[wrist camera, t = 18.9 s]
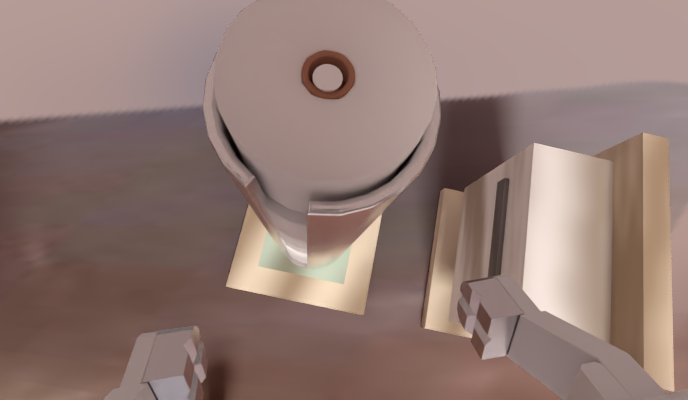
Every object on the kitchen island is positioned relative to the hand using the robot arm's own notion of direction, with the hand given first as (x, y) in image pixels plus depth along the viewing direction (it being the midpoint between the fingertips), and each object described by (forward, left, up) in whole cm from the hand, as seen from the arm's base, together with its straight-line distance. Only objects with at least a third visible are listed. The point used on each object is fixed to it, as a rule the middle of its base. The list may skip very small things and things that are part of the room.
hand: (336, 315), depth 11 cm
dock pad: (-2, +6, -22) cm, 23 cm away
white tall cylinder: (-2, +6, -21) cm, 22 cm away
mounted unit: (+13, +6, -22) cm, 27 cm away
